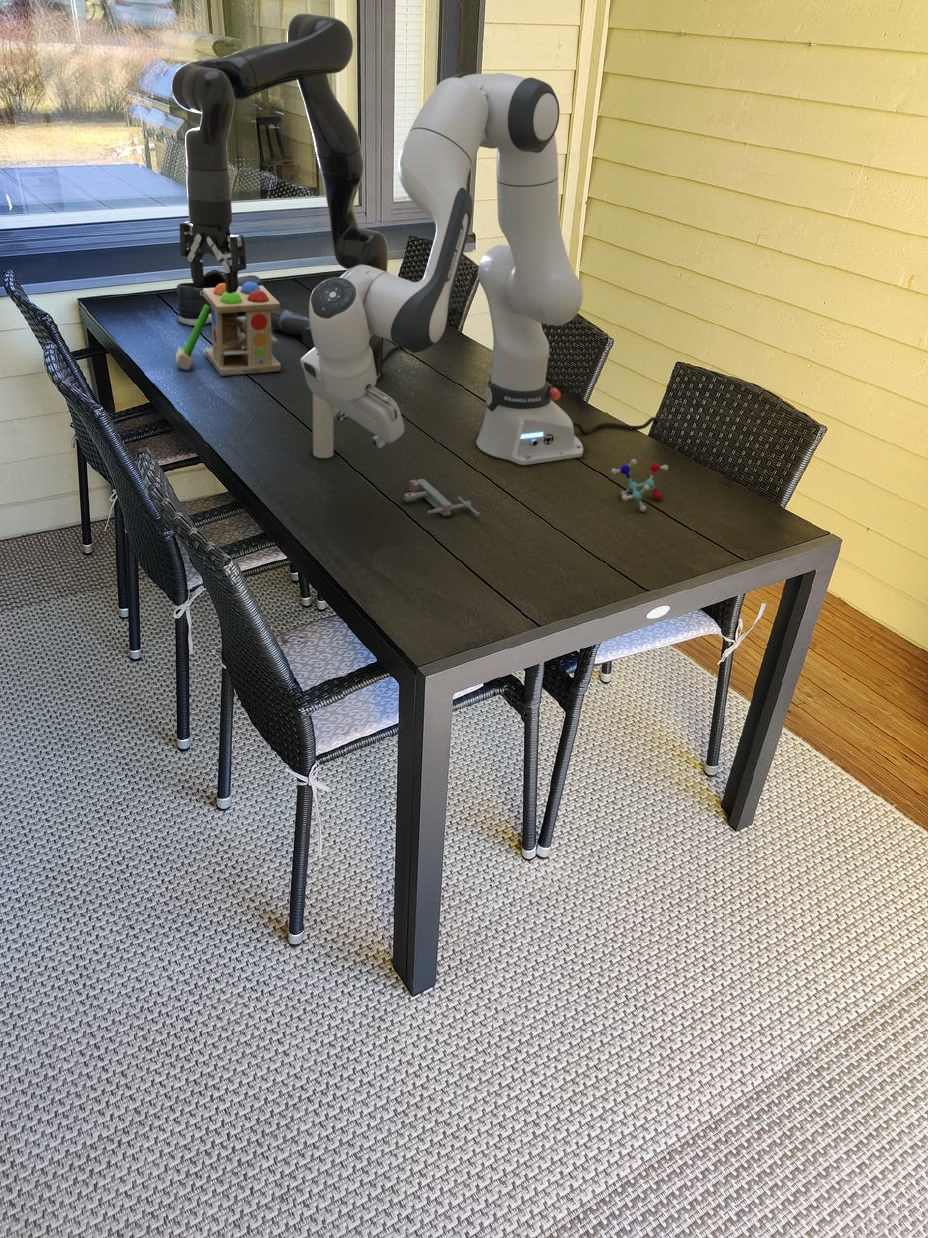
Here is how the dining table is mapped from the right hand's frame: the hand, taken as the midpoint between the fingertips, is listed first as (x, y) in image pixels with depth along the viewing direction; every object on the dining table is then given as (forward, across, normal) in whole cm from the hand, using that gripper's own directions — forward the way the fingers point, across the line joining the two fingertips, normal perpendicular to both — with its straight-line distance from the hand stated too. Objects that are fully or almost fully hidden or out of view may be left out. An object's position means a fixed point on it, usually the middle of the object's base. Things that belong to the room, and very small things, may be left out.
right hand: (360, 431), depth 171 cm
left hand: (-6, +42, -4) cm, 43 cm away
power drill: (+48, +70, -42) cm, 95 cm away
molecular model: (+24, -36, -34) cm, 55 cm away
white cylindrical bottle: (+20, +17, -2) cm, 26 cm away
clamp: (+15, -13, -4) cm, 20 cm away
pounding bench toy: (+35, +66, -14) cm, 76 cm away
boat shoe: (+50, +98, -35) cm, 115 cm away
